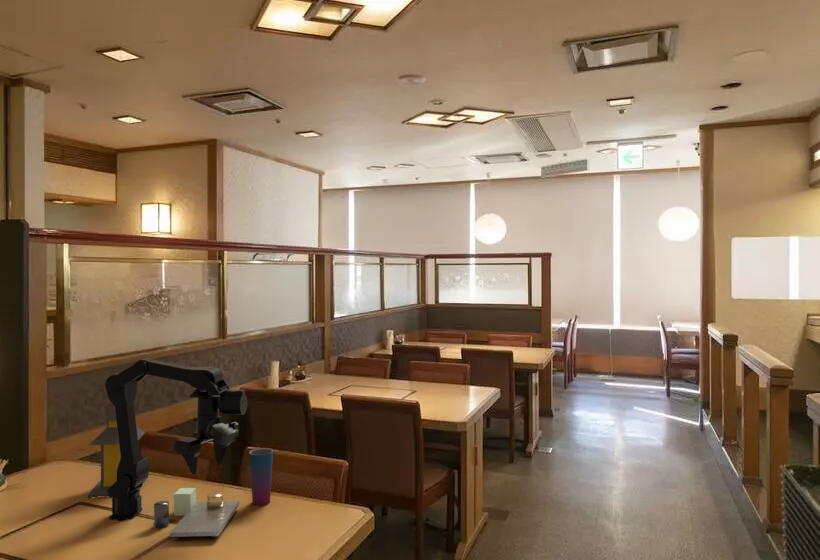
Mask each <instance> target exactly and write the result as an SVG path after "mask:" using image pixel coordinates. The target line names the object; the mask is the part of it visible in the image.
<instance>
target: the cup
mask: <svg viewBox="0 0 820 560" xmlns="http://www.w3.org/2000/svg"><path fill="white" fill-rule="evenodd" d="M248 455H249V457H248V458H249V470H250V484H251V487H250V488H251V498H252V501H251V503H252V505H254V506H256V507H257V506H258V507H261V506H266V505H268V504H270V503H271V495H272V494H271V493H272V491H271V490H272V476H273V475H272V473H273V461H274V460H273V457H274V450H273V449H272V448H268V447H262V448H254V449H252V450H250V451H249V452H248Z"/></svg>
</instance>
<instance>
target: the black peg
mask: <svg viewBox="0 0 820 560" xmlns="http://www.w3.org/2000/svg"><path fill="white" fill-rule="evenodd" d="M153 504H154V505H153V526H154V527H153V528H154V529H156V530H158V529H159V530H160V529H166V528H167V527H169V525H170V502H169V500H159V501H156V502H154V503H153Z"/></svg>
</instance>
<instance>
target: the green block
mask: <svg viewBox="0 0 820 560" xmlns="http://www.w3.org/2000/svg"><path fill="white" fill-rule="evenodd" d="M196 503H197V488H196V487H180V488H179V489H177V491H175V492H174V494H173V516H185V515H186V514H187V513H188V512H189V510H190V509H191V508H192V507H193V506H194V505H195V504H196Z"/></svg>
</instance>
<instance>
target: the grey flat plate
mask: <svg viewBox="0 0 820 560" xmlns="http://www.w3.org/2000/svg"><path fill="white" fill-rule="evenodd" d="M240 504H241V502H240V500H232V501H231V500H229V501H228V500H227V501H224V500H223V506H222V507H220V508H216V509H210V508H207V501H196V504H195V505H194V506H193V507H192V508H191V509H190V510H189V512H188V513H187V514H186V515H183V517H182V518H181V519H180V521H179V522H177V524H176V525H175V526H174V527H173V528H172V529H171V531H170V532H169V537H170V538H171V537H172V538H175V540H182V538H183V537H211V539H217V538H218V537H219V535H221V533H222V531H223V530H224V529H225V527H226V526H227V524H228V522H229V521H230V520H231V518H232V516H233V515H234V514H235V512H236V511H237V509H238V508H239V507H240Z"/></svg>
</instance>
